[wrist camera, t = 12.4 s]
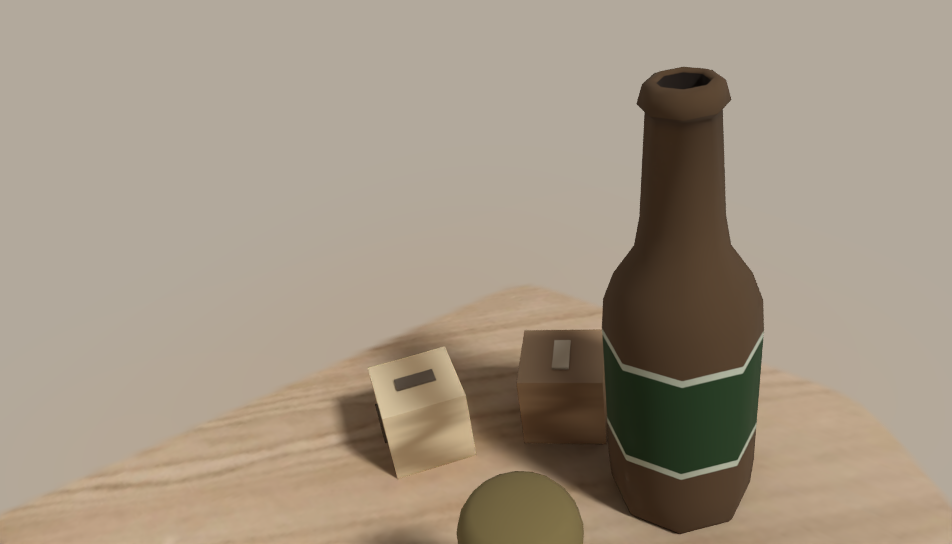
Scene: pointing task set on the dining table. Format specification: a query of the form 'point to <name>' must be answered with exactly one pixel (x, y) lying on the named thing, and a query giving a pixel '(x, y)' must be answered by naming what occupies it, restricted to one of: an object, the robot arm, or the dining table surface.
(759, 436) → the dining table surface
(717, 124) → the beer bottle
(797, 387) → the dining table surface
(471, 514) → the cork
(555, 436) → the walnut cube marked
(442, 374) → the beech cube marked
